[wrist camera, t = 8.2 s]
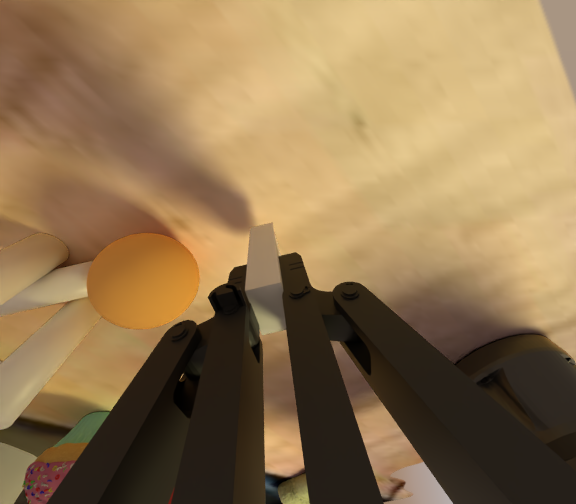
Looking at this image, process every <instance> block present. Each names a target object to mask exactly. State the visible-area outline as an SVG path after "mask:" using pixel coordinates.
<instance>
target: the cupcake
mask: <svg viewBox="0 0 576 504" xmlns="http://www.w3.org/2000/svg"><path fill="white" fill-rule="evenodd" d="M109 413H110V412H94V413H90V414H88V415H86V416H85V417H83V418H82V419H81V421H80V422H79V423H78V424H77V425H76V426H75V427H74V428H73V429H72V430H71V431H70V432H69V433H68V434H67V435H66V436H65V437H64V438H63V439H62V440H60V441H59V442H58V443H57V444H56V445H55V446H54V447H51V448H48V449H47V450H46V451H44V452H43V453H42V454H41V455H40V456H39V457H38V458H37V459H36V460H35V461H34V462H33V463H32V464H30V465H29V467H28V468H27V470H26V473H25V479H24V483H23V485H24V486H23V485H22V487H24V489H25V494H26V499H27V502H28V504H30V503H31V504H46V503H47V502H48V500H49V499H50V497H51V496H52V495H53V493H54V492H55V490H56V489H57V487H58V486H59V485H60V483H61V482H62V480H63V479H64V477H65V476H66V475H67V473H68V472H69V470H70V469H71V467H72V466H73V465H74V463H75V462H76V460H77V459H78V457H79V456H80V455H81V453H82V452H83V450H84V449H85V447H86V446H87V445H88V443H89V442H90V440H91V439H92V437H93V436H94V435H95V433H96V432H97V430H98V429H99V427H100V426H101V425H102V423H103V422H104V420H105V419H106V417H107V416H108V415H109Z"/></svg>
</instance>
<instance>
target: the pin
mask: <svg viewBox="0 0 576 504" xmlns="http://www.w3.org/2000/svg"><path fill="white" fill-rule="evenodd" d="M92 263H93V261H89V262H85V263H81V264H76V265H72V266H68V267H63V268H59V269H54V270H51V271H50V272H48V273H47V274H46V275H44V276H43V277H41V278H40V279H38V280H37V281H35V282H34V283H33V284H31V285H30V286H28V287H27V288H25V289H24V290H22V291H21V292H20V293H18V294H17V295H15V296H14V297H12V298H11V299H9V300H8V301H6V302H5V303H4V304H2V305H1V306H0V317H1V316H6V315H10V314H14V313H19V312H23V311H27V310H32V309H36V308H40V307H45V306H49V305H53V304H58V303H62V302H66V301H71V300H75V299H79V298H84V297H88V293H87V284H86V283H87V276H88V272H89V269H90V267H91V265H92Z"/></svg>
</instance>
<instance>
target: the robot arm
mask: <svg viewBox="0 0 576 504" xmlns="http://www.w3.org/2000/svg"><path fill="white" fill-rule="evenodd" d="M228 280H229V281H228V283H226V284H223V285H220V286H219V287H217V288H215V289H214V290H213V291H212V292H211V293H210V294H209V296H208V299H209V301H210V303H211V305H212V307H213V309H214V311H215V316H214V317H213V318H211V319H209V320H208V321H205V322H203V323H201V324H199V325H197V324H196V323H195V322H194V321H191V320H186V321H182V322H180V323H177V324H175V325H174V326H173V327H171V328H170V329H169V330H168V331H167V332H166V333H165V335H164V336H163V337H162V339H161V340H160V342H159V343H158V345H157V346H156V347H155V349H154V350H153V352H152V353H151V355H150V356H149V357H148V359H147V360H146V362H145V363H144V365H143V366H142V367H141V369H140V370H139V372H138V373H137V375H136V376H135V377H134V379H133V380H132V382H131V383H130V385H129V386H128V387H127V389H126V390H125V392H124V393H123V395H122V396H121V397H120V399H119V400H118V402H117V403H116V405H115V406H114V407H113V409H112V410H111V412H110V413H109V415H108V416H107V417H106V419H105V420H104V422H103V423H102V425H101V426H100V427H99V429H98V430H97V432H96V433H95V435H94V436H93V437H92V439H91V440H90V442H89V443H88V445H87V446H86V447H85V449H84V450H83V452H82V453H81V455H80V456H79V457H78V459H77V460H76V462H75V463H74V465H73V466H72V467H71V469H70V470H69V472H68V473H67V475H66V476H65V477H64V479H63V480H62V482H61V483H60V485H59V486H58V487H57V489H56V490H55V492H54V493H53V495H52V496H51V497H50V499H49V500H48V502H47V503H46V504H168V503H169V500H170V497H171V495H172V492H173V490H174V492H173V496H172V501H171V504H265V454H264V401H263V349H262V342H261V339H260V337H259V329H260V331H261V334H262V335H266V334H270V333H274V332H278V331H283V330H287V337H288V345H289V352H290V360H291V367H292V375H293V382H294V390H295V398H296V405H297V413H298V420H299V428H300V435H301V443H302V451H303V458H304V466H305V473H306V481H307V488H308V496H309V503H310V504H384V503H383V500H382V497H381V494H380V491H379V488H378V485H377V482H376V479H375V476H374V473H373V470H372V467H371V464H370V461H369V458H368V455H367V452H366V448H365V445H364V442H363V439H362V436H361V433H360V430H359V427H358V424H357V421H356V418H355V415H354V412H353V409H352V406H351V403H350V400H349V397H348V394H347V391H346V388H345V385H344V382H343V379H342V376H341V372H340V369H339V366H338V363H337V360H336V357H335V354H334V351H333V348H332V345H331V342H330V341H340V343H341V345H342V346H343V348H344V349H345V351H346V352H347V353H348V355H349V356H350V358H351V359H352V360H353V362H354V363H355V365H356V366H357V368H358V369H359V370H360V372H361V373H362V375H363V376H364V378H365V379H366V380H367V382H368V383H369V385H370V386H371V387H372V389H373V390H374V392H375V393H376V395H377V396H378V397H379V399H380V400H381V402H382V403H383V404H384V406H385V407H386V409H387V410H388V412H389V413H390V414H391V416H392V417H393V419H394V420H395V422H396V423H397V424H398V426H399V427H400V429H401V430H402V431H403V433H404V434H405V436H406V437H407V439H408V440H409V441H410V443H411V444H412V446H413V447H414V448H415V450H416V451H417V453H418V454H419V456H420V457H421V458H422V460H423V461H424V463H425V464H426V465H427V467H428V468H429V470H430V471H431V473H432V474H433V475H434V477H435V478H436V480H437V481H438V483H439V484H440V485H441V487H442V488H443V489H444V491H445V492H446V494H447V495H448V497H449V498H450V499H451V501H452V502H453V504H576V364H575V361H574V360H573V358H572V357H571V356H570V355H569V354H568V353H567V352H566V351H564V350H563V349H562V348H560V347H559V346H557V345H556V344H555V343H553V342H552V341H551V340H549V339H548V338H546V337H544V336H541V335H535V334H525V335H517V336H512V337H508V338H505V339H502V340H499V341H496V342H493V343H491V344H489V345H486V346H484V347H482V348H480V349H478V350H477V351H475V352H473V353H472V354H470V355H468V356H467V357H465V358H464V359H463V360H461V361H460V362H459V363H458V364H457V365H454V364H453V363H452V362H450V361H449V360H448V359H447V358H446V357H445V356H444V355H442V354H441V353H440V352H439V351H438V350H437V349H436V348H434V347H433V346H432V345H431V344H430V343H429V342H428V341H426V340H425V339H424V338H423V337H422V336H421V335H420V334H418V333H417V332H416V331H415V330H414V329H413V328H412V327H410V326H409V325H408V324H407V323H406V322H405V321H403V320H402V319H401V318H400V317H399V316H398V315H397V314H395V313H394V312H393V311H392V310H391V309H390V308H389V307H387V306H386V305H385V304H384V303H383V302H382V301H381V300H379V299H378V298H377V297H376V296H375V295H374V294H373V293H371V292H370V291H369V290H368V289H367V288H366V287H365V286H363V285H361V284H360V283H356V282H344V283H341V284H339V285H337V286H336V287H335V288H334V290H333V292H324V291H319V290H316V289H314V288H313V287H312V286H311V284H310V282H309V279H308V276H307V273H306V270H305V267H304V264H303V261H302V258H301V256H300V255H299V254H297V253H296V252H295V253H291V254H287V255H282V256H281V254H280V250H279V246H278V242H277V238H276V234H275V231H274V227H273V223H268V224H264V225H259V226H255V227H251V228H250V237H249V248H248V260H247V265H243V266H238V267H234V269H233V270H232V271H231V272H230V274H229V279H228ZM183 373H184V374H183ZM182 374H183V376H182ZM181 376H182V378H181ZM180 378H181V379H180ZM174 487H175V488H174Z"/></svg>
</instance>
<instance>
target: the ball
mask: <svg viewBox="0 0 576 504" xmlns="http://www.w3.org/2000/svg"><path fill="white" fill-rule="evenodd" d="M86 284H87V293H88V297H89V300H90V302H91V304H92V305H93V307H94V308H95V310H96V311H97V312H98V313H99V314H100V315H101V316H102V317H103V318H104V319H106V320H107V321H109V322H111V323H113V324H115V325H118V326H120V327H124V328H129V329H150V328H154V327H158V326H161V325H164V324H166V323H169V322H171V321H172V320H174V319H176V318H177V317H178V316H180V315H181V314H182V313H183V312H184V311H185V310H186V309H187V308H188V307H189V306H190V304H191V303H192V301H193V300H194V298H195V296H196V293H197V290H198V287H199V269H198V266H197V263H196V260H195V259H194V257H193V255H192V254H191V253H190V251H189V250H188V249H187V248H186V247H185V246H184V245H182V244H181V243H179V242H178V241H176V240H174V239H172V238H170V237H167V236H164V235H160V234H155V233H139V234H133V235H129V236H126V237H123V238H120V239H118V240H116V241H114V242H113V243H111V244H109V245H108V246H107V247H105V248H104V249H103V250H102V251H101V252H100V253H99V254H98V256H97V257H96V258H95V259H94V261H93V263H92V265H91V267H90V269H89V272H88V276H87V283H86Z"/></svg>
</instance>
